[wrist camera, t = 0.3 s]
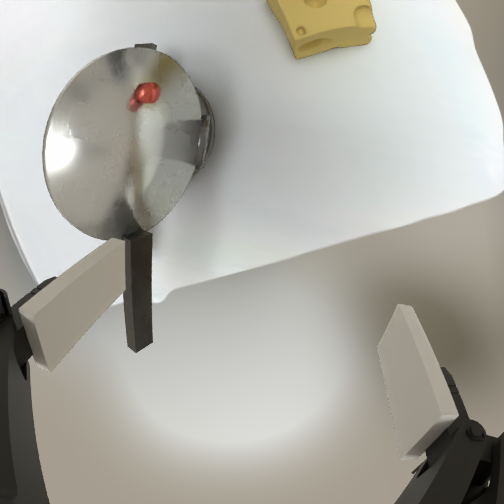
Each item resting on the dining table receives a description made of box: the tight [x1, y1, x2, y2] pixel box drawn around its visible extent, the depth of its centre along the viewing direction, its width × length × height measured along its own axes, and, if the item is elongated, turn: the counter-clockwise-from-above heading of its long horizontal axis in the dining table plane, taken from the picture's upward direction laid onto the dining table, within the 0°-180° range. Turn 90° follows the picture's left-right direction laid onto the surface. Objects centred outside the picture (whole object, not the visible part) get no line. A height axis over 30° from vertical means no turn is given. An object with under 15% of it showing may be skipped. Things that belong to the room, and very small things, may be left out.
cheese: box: [266, 0, 376, 59], centre depth 27 cm, size 10×11×10 cm
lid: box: [42, 47, 210, 353], centre depth 27 cm, size 30×18×2 cm
